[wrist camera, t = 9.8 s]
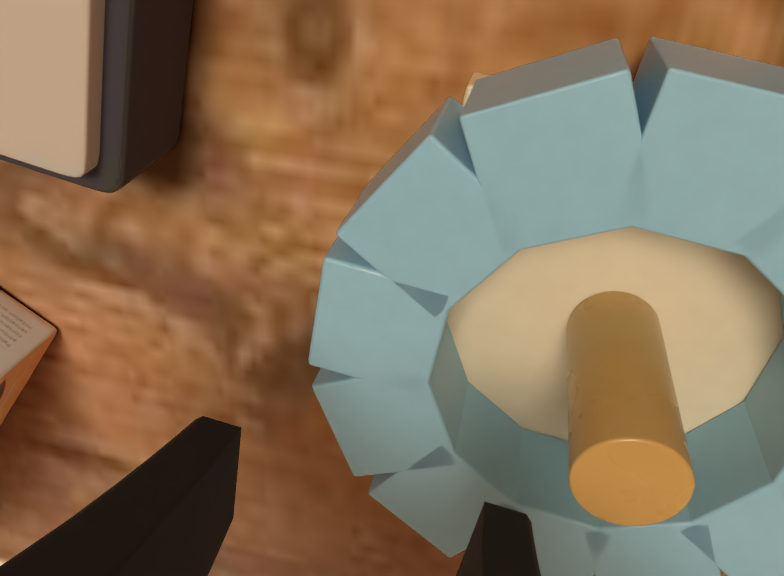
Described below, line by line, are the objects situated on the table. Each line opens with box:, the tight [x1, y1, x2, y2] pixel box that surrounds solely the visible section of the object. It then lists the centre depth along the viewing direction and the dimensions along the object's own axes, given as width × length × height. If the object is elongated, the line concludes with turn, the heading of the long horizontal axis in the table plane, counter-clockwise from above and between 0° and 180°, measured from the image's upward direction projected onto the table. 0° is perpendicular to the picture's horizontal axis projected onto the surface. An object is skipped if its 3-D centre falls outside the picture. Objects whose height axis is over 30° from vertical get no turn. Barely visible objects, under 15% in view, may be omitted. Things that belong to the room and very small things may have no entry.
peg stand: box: [447, 72, 784, 526], centre depth 14 cm, size 9×9×6 cm
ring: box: [308, 37, 784, 576], centre depth 14 cm, size 12×12×3 cm
